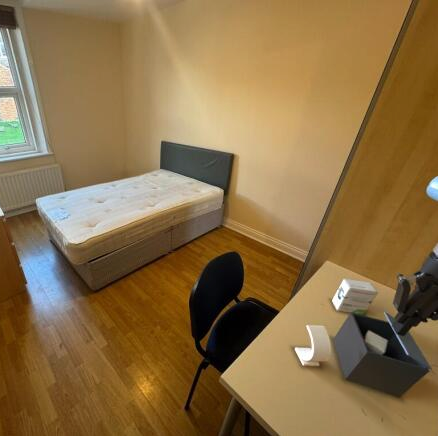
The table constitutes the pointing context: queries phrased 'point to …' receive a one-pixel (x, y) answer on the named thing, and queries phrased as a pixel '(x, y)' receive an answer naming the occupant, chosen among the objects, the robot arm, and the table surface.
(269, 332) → the table surface
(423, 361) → the panel
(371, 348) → the box
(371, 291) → the ink box
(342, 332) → the grey container
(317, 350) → the headphone stand
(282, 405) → the table surface
